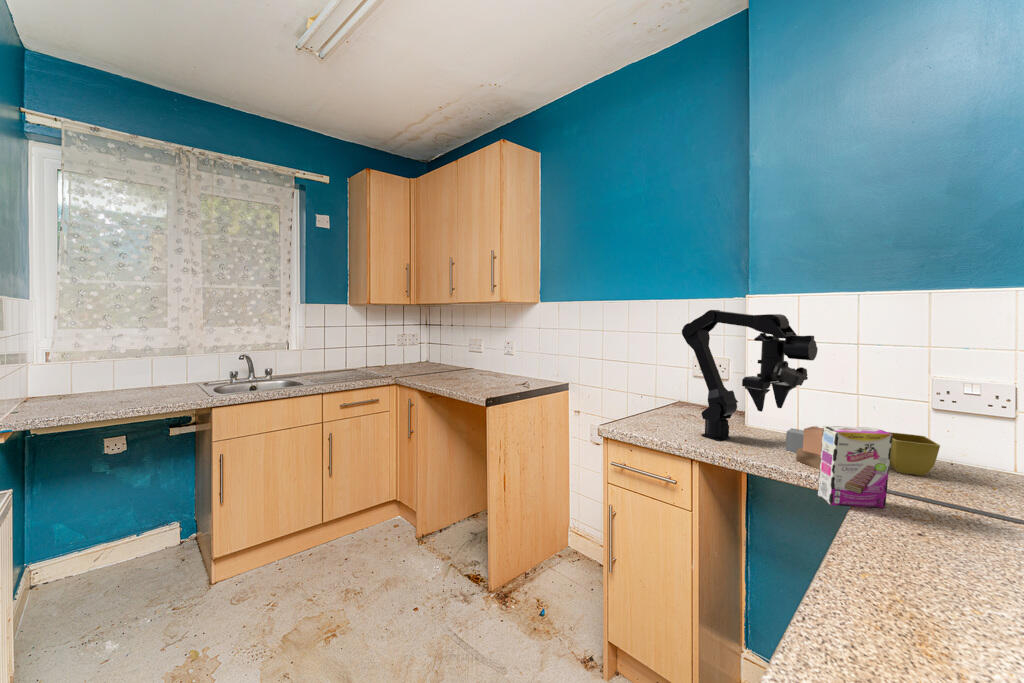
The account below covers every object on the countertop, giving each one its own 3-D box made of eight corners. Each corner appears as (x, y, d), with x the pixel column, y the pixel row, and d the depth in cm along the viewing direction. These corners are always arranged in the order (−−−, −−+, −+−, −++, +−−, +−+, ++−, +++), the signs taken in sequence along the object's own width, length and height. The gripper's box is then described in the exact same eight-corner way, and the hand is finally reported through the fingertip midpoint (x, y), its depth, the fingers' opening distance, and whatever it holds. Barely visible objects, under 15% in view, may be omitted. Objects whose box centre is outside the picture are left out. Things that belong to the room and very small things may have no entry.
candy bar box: (831, 506, 89) (836, 431, 88) (816, 496, 94) (821, 425, 93) (888, 509, 88) (893, 433, 87) (870, 498, 93) (875, 426, 92)
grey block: (785, 451, 125) (786, 431, 124) (790, 447, 128) (791, 428, 128) (805, 455, 121) (806, 435, 121) (810, 451, 125) (811, 431, 124)
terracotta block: (802, 450, 114) (803, 428, 114) (812, 447, 117) (813, 426, 116) (823, 455, 110) (824, 433, 109) (833, 452, 112) (834, 430, 112)
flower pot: (921, 468, 111) (924, 435, 111) (938, 480, 103) (941, 445, 103) (879, 463, 115) (881, 431, 114) (892, 474, 107) (894, 440, 106)
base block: (795, 462, 116) (796, 448, 116) (815, 460, 118) (815, 446, 118) (820, 472, 109) (821, 457, 109) (840, 469, 111) (841, 454, 111)
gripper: (781, 361, 111) (778, 419, 112) (820, 358, 120) (817, 412, 121) (742, 357, 121) (739, 410, 122) (781, 354, 129) (778, 404, 131)
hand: (769, 409), depth 124 cm, fingers open, 9 cm apart
